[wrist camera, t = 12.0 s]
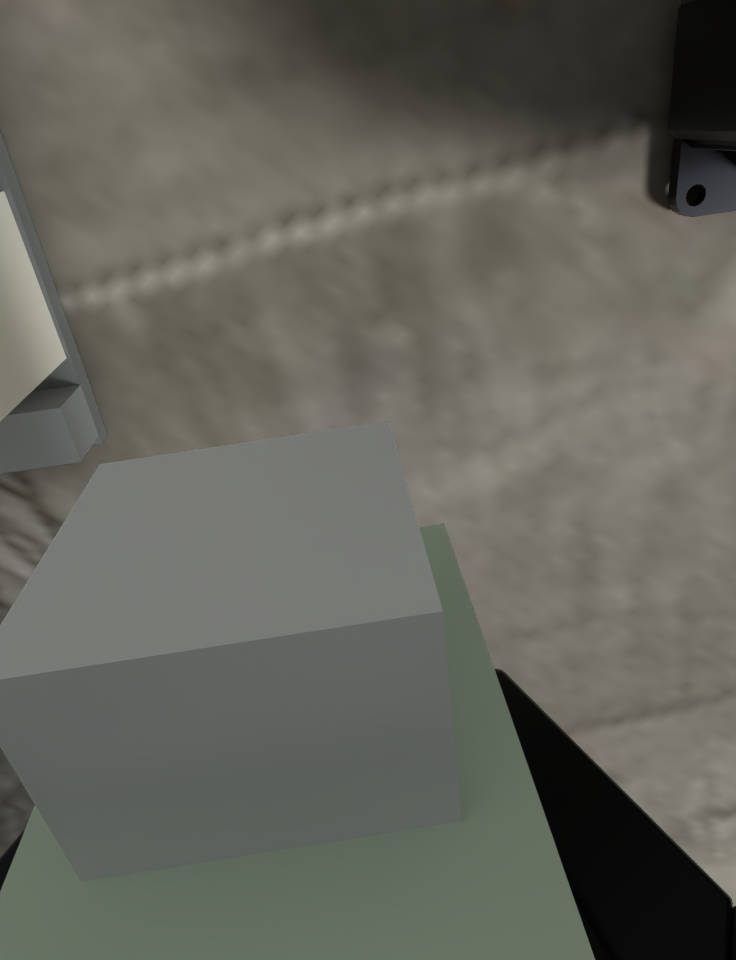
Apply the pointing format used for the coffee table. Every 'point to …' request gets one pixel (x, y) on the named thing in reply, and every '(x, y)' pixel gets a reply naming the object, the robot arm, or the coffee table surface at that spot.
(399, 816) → the sage plug
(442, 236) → the coffee table surface
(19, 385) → the cream plug
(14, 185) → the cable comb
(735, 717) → the coffee table surface
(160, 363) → the coffee table surface
